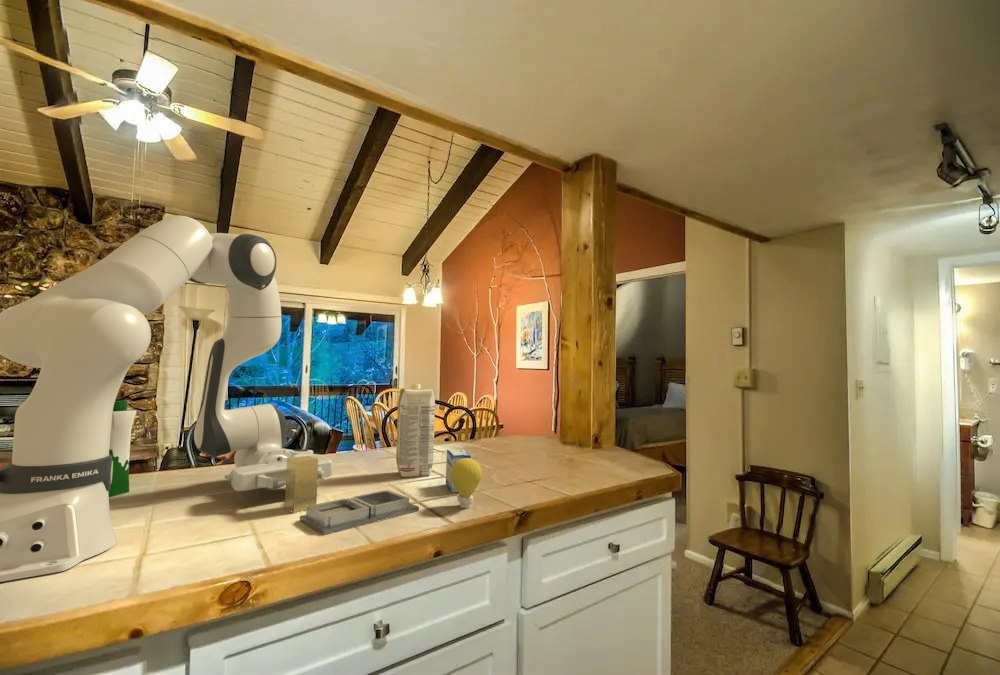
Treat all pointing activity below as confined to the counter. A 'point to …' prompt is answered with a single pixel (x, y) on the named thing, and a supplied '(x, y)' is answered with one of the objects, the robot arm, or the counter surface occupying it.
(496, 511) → the counter surface
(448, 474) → the medicine box
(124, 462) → the milk carton
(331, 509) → the grey double tray
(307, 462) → the wooden block
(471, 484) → the light bulb
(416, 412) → the juice carton
